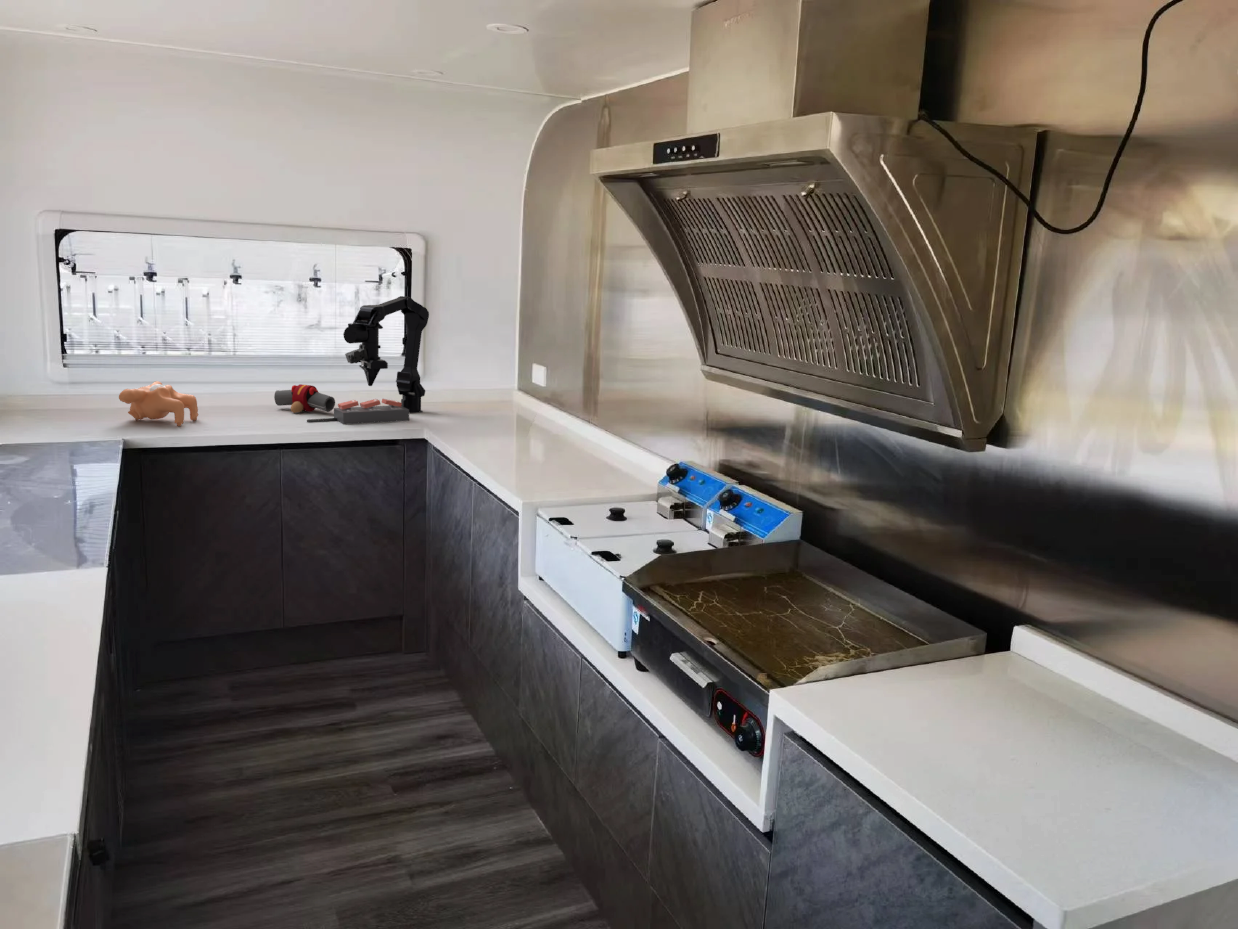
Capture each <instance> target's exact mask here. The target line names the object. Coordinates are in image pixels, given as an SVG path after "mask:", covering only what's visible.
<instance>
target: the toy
mask: <svg viewBox="0 0 1238 929" xmlns="http://www.w3.org/2000/svg"><path fill="white" fill-rule="evenodd" d="M273 397H274V402H275V404H276V406H279V407H280V406H290V411H291V412H292V413H293V414H295V415H296V414H300V413H302V412H309V413H312V412H314V411H315V410H316V409H318V410H321V411H324V412H328V413H329V412H332V411H334V408H335V406H336V400H335V398H334V397H333V396H330V395H328V394H324V393H321V392H319V390H318V389H317V387H316V386H314V385H308V384H298V385H296V384H295V385H292V386H291V389H279V390H277V389H276V391H275V392H274V396H273Z"/></svg>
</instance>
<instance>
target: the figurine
mask: <svg viewBox="0 0 1238 929" xmlns="http://www.w3.org/2000/svg"><path fill="white" fill-rule="evenodd" d="M118 399H119V401H120V402H122V403H125V404H127V405H128V404H130V408H129V411H127V413H128V414H129V415H130V416H131V417H133V418H134V419H135V421H138V420H143V419H145V418H147V419H150V420H160V419H163V418H166V417H167V416H168V415H169V413H172V414H174V420H173V422H174V424H175V425H176V426H177V427H182V425H183V424H184V420H185V409H188V410H189V418H190V420H191V421H197V419H198V417H199V413H198V412H199V408H198V401H197V398H196V397H195V395H193V394H189V393H180V392H178V391H176V390H175V389H174V388H173V386H172V385H171V384H166V385H163V382H161V381H158V380H156V381H153V383H151V384H149V385H145V386H140V387H138V388H132V389H131V388H125V389H123V390H121V392H120V393H119V394H118Z"/></svg>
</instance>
